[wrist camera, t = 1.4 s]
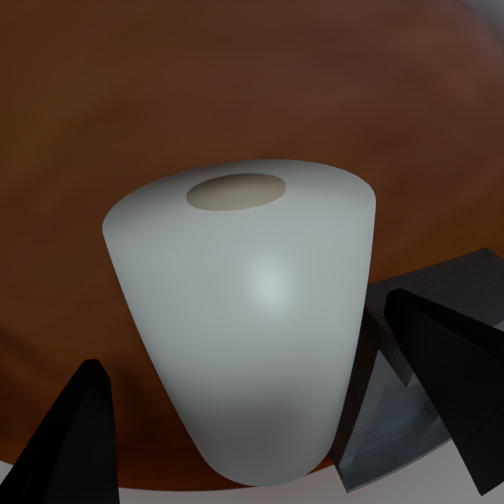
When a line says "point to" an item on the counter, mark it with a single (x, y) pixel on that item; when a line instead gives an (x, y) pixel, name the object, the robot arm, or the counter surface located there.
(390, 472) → the cradle holder
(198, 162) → the counter surface
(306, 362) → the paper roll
